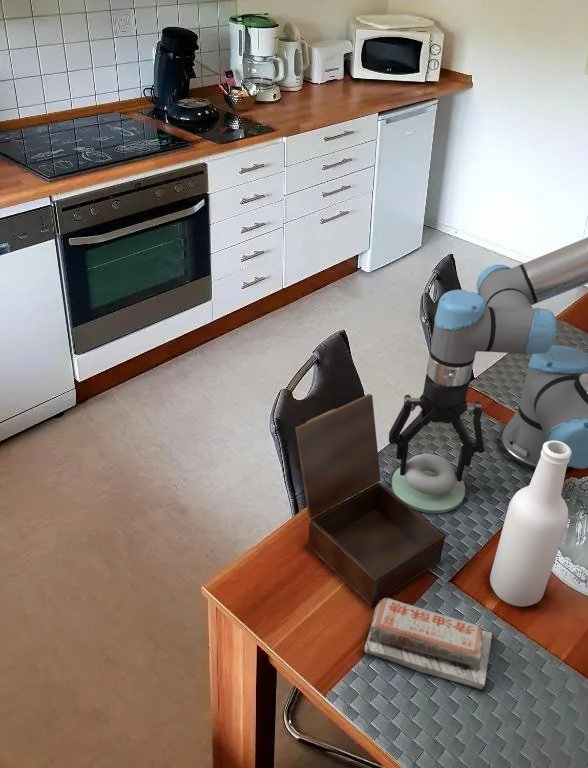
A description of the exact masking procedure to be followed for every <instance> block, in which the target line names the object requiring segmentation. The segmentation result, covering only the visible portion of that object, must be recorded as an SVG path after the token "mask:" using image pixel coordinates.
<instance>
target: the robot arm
mask: <svg viewBox="0 0 588 768" xmlns="http://www.w3.org/2000/svg"><path fill="white" fill-rule="evenodd" d="M587 284H588V236H587V237H584V238H582V239H580V240H577V241H575V242H572V243H570V244H567V245H565V246H563V247H560V248H558V249H555V250H553V251H550V252H548V253H546V254H543V255H541V256H538V257H536V258H533V259H531V260H528V261H525V262H523V263H521V264H519V265H516V266H513V267H510V266H508V265H505V264H492V265H490V266H488V267H486V268H485V269H483V271H481V273H479V276H478V277H477V280H476V292H477V293H476V292H474V291H467V290H466V289H453V290H450V291H447V292H444V293H443V294H442V295H441V296H440V299H439V300H438V304H437V309H436V311H435V312H436V313H435V316H434V319H433V321H434V324H433V330H432V337H431V344H430V349H429V356H428V361H427V366H426V374H425V379H424V385H423V391H422V394H421V396H419V397H412V396H411V395H410V394H405V395H404V397H403V405H402V408H401V409H400V411H399V413H398V415H397V417H396V418H395V421H394V422H393V425H392V426H391V428H390V430H389V432H388V443H389V444H390V445H394V444H395V445H396V452H395V457H396V459H397V460H400V462H399V463H400V465H399V467H400V475H402V476H404V473H405V466H406V463H407V461H408V460H407V459H408V454H409V442H410V441H411V440H413V438H414V437H415V436H416V435H417V434H419V432H420V431H421V430H422V429H423V428H424V427H427V426H428V425H429V424H430V422H431V423H443V424H446V425H447V424H451V425H452V427H453V429H454V430H455V432H456V434H457V436H458V437H459V439H460V440H459V441H460V442H461V444H462V445H461V447H460V452H459V455H458V456H459V457H458V461H457V466H456V470H455V471H456V473H457V481H459V482H461V480H463V475H464V471H465V467H470V466H471V464H472V459H473V457H474V456H475V453H480V454H483V453H484V452H485V444H484V436H483V431H482V424H481V418H482V415H483V406H482V402H481V401H478V400H477V401H475V402H474V403H471V402H468V401H467V396H468V392H469V387H470V380H471V377H472V372H473V367H474V362H475V359H476V354H477V352H478V353H479V352H480V353H482V352H483V353H503V354H516V355H517V354H519V355H531V354H532V355H531V357H530V360H529V362H528V364H527V365H528V367H527V371H526V375H525V380H524V384H523V388H522V392H521V396H520V400H519V404H518V409H517V410H516V412H515V413H514V415H513V416H512V417H511V418H510V420H509V421H508V423H507V424H506V425H505V427H504V429H503V431H502V434H501V438H500V444H501V447H502V449H503V451H504V453H505V454H506V455H507V456H508V457H509V458H510V459H511V460H512V461H514V462H515V463H518V464H519V465H520V466H523V467H525V468H527V469H531V470H534V471H535V470H536V467H537V465H538V462H539V460H540V457H541V451H542V449H543V444H544V443H545V442H548V441H560V442H563V443H564V444H566V445H567V446H568V447H569V448H570V449H571V451H572V453H571V456H570V460H569V462H568V464H567V468H566V470H567V469H569V468H574V469H580V470H581V469H582V470H583V469H588V353H587V352H586V351H583V350H580V349H578V348H574V347H571V346H565V345H554V343H555V340H556V337H557V319H556V316H555V314H554V312H553V311H552V310H550V309H547V308H540V307H533V305H536V304H538V303H541V302H544V301H546V300H549V299H551V298H554V297H557V296H559V295H562V294H564V293H566V292H569V291H572V290H575V289H577V288H579V287H582V286H584V285H587ZM417 407H420V409H421V410H420V411H419V413H418V415H417V416H416V417H415V418H414V419H413V420H412V421H411V422H410V423H409V424H408V425H407V426H406V427H405V425H406V423H407V421H408V419H409V418H410V416H411V412H413V411H415V409H416V408H417ZM466 411H468V414H469V416H470V417H472V423H473V429H474V435H475V441H472V439H471V436H470V434H469V433H468V431H467V429H466V427H465V424H464V423H463V421H462V418H461V416H462V415H463V414H464V413H465V412H466ZM404 427H405V428H404ZM403 429H404V430H403Z"/></svg>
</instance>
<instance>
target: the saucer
mask: <svg viewBox="0 0 588 768" xmlns="http://www.w3.org/2000/svg"><path fill="white" fill-rule="evenodd" d="M422 473H423V474H425V475H427V476H431V477H436V476H439V475H438V474H436V473H434V472H432V471H423V472H422ZM465 485H466V484H465V483H464V481H463V479H462V480H461V482H459V481H457V478H456V483H455V484H454V486H453V488H452V489H450V490H449V491H447V492H445V493H442V494H436V495H430V494H425V493H422V492H419V491H417V490H415V489H414V488H413V487H411V486H410V485H409V483H408V482H407V481H406V479H405V476H402V475H400V466H399V467H398V468H397V469H396V470H395V472H394V473H393V475H392V478H391V488H392V493H393V494H395V495H396V496H397V497H399V498H400V499H401V500H402V501H404V502H405V503H406V504H407V505H409V506H410V507H411V508H412V509H414V510H415V511H417V512H422V513H427V514H442V513H447V512H450V511H453V510H455V509H457V508H458V507H459V506H460V505H461V504H462V503H463V502H464V499H465V496H466V486H465Z"/></svg>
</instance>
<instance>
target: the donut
mask: <svg viewBox="0 0 588 768" xmlns="http://www.w3.org/2000/svg"><path fill="white" fill-rule="evenodd" d="M423 471H432V472H434V473H436V474H438V475H439V476H436V477H431V476H427V475H425V474H423V473H422V472H423ZM456 471H457V470H456V469H455V466H454V465H453V464H452V462H450V461H449V460H448V459H446V458H444V457H443V456H440V455H438V454H433V453H421V454H417V455H415V456H412V457H411V458H409V459H408V460H407V461H406V466H405V473H404V476H405V479H406V481H407V482H408V483H409V485H410V486H411V487H413V488H414V489H415V490H417V491H419V492H422V493H425V494H430V495H436V494H442V493H445V492H447V491H449V490H450V489H452V488H453V486H454V484H455V483H456V478H457V473H456Z"/></svg>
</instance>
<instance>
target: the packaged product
mask: <svg viewBox="0 0 588 768" xmlns="http://www.w3.org/2000/svg"><path fill="white" fill-rule="evenodd" d="M492 636H493V632H491V631H487V630H483V627H482V626H481V625H478V624H475V623H472V622H470V621H469V622H468V621H466V620H462V619H459V618H456V617H452V616H449V615H445V614H442V613H439V612H435V611H432V610H430V609H426V608H421V607H419V606H414V605H413V604H409V603H405V602H402V601H399V600H395V599H392V598H390V597H387V598H384V599H383V600H382V601H381V600H380V601H379V603H378V604H376V606H375V608H374V612H373V615H372V622H371V625H370V628H369V632H368V635H367V639H366V641H365V645H364V647H363V648H364V649H363V650H364V653H365V654H369V655H371V656H375V657H378V658H382V659H384V660H387V661H390V662H393V663H395V664H397V665H400V666H404V667H407V668H409V669H412V670H413V671H417V672H420V673H422V674H426V675H431V676H433V677H434V676H435V677H438V678H441V679H445V680H448V681H452V682H455V683H459V684H462V685H466V686H469V687H472V688H474V689H479V690H483V689H484V687H485V686H486V680H487V672H488V665H489V661H490V653H491V645H492Z"/></svg>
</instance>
